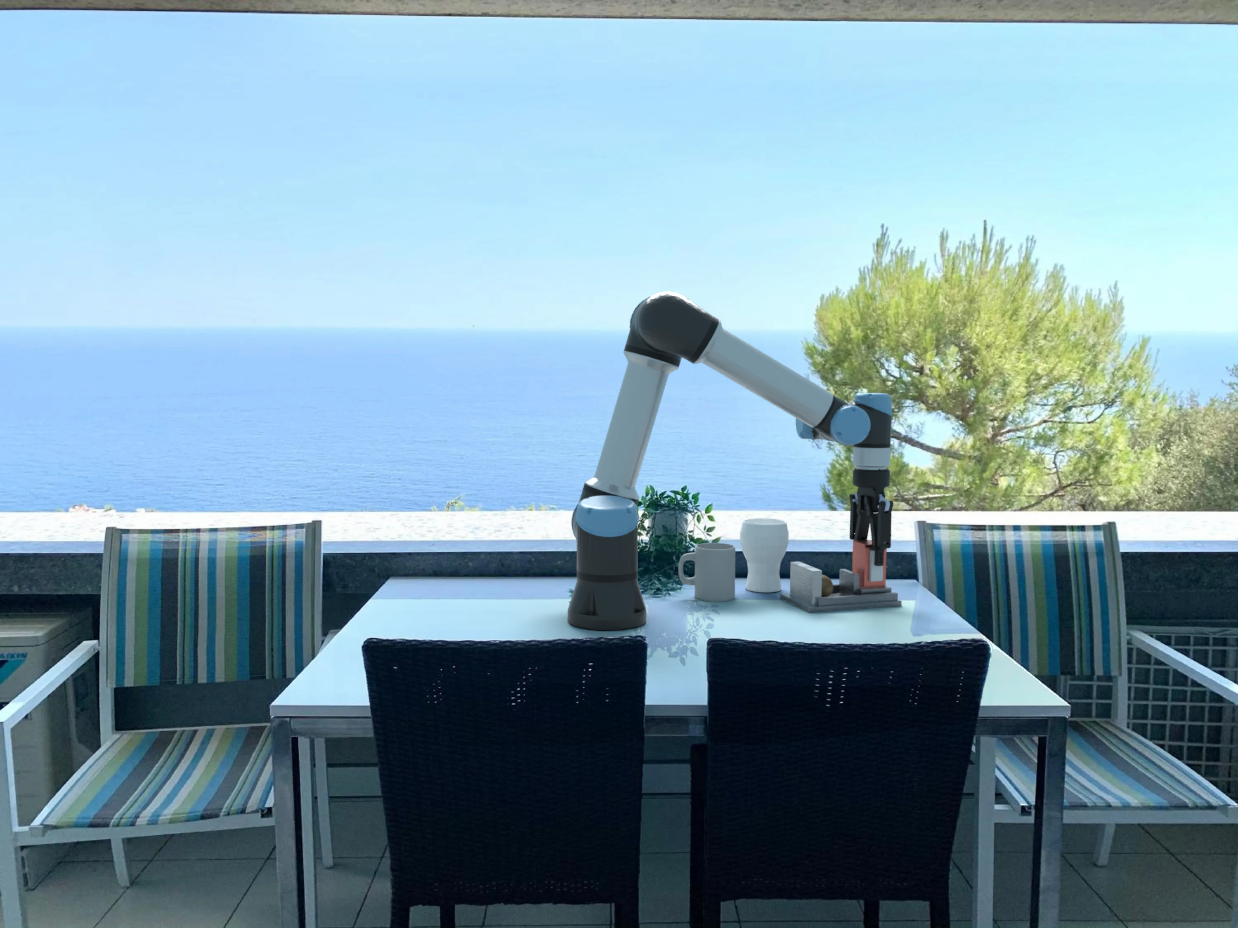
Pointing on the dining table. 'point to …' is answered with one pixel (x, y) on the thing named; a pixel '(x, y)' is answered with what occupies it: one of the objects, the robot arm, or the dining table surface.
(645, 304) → the robot arm
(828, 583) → the nut
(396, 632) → the dining table surface
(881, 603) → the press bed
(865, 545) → the block
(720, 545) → the mug
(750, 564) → the cup
